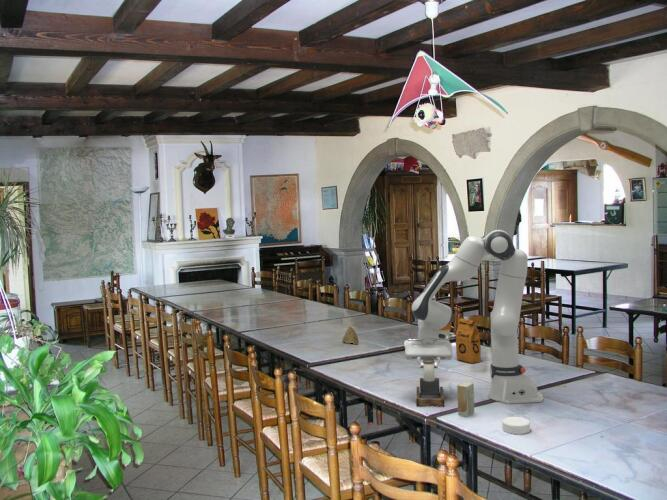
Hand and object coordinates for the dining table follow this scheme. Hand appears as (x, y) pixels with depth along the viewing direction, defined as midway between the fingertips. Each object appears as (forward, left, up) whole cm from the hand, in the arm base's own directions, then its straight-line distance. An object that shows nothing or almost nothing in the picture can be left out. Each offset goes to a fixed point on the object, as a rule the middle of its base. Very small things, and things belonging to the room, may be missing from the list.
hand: (428, 367), depth 273 cm
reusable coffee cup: (-9, -132, -15) cm, 133 cm away
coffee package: (-21, -71, -15) cm, 75 cm away
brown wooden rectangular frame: (0, -4, -15) cm, 16 cm away
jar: (0, -1, -5) cm, 6 cm away
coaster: (-31, +30, -16) cm, 46 cm away
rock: (+46, -114, -16) cm, 124 cm away
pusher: (0, -14, -15) cm, 21 cm away
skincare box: (-14, +13, -15) cm, 25 cm away
